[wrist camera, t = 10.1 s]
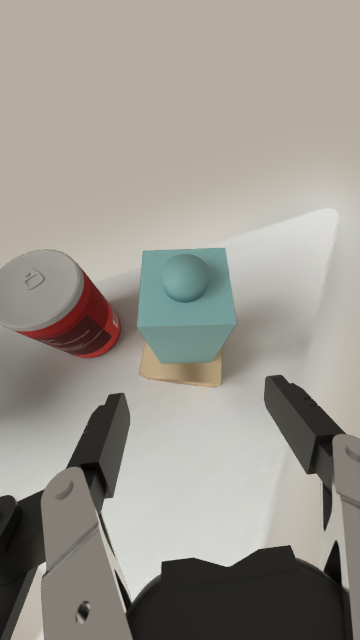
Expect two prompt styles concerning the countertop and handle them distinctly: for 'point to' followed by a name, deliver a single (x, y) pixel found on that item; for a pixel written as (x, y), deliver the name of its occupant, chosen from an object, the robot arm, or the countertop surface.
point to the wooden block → (181, 370)
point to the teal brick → (185, 304)
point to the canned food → (56, 304)
